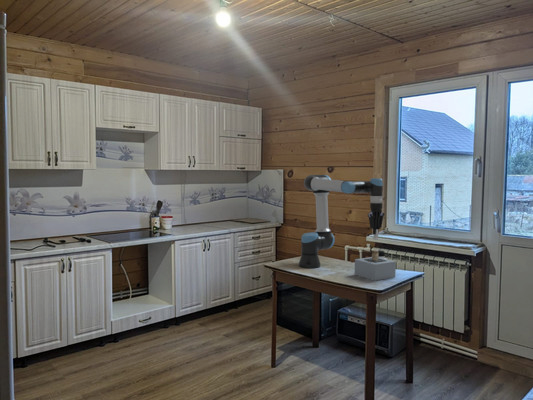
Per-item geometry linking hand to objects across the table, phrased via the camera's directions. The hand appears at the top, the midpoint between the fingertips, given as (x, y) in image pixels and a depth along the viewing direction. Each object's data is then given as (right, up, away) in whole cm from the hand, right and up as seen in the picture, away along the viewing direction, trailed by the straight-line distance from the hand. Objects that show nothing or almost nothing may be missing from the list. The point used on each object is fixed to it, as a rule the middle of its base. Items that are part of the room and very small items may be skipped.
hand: (375, 239), depth 269 cm
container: (+8, -23, +20) cm, 31 cm away
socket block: (0, -24, +2) cm, 24 cm away
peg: (0, -17, +1) cm, 17 cm away
